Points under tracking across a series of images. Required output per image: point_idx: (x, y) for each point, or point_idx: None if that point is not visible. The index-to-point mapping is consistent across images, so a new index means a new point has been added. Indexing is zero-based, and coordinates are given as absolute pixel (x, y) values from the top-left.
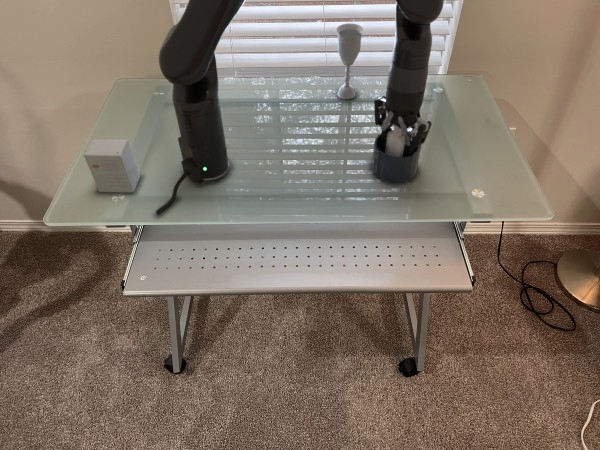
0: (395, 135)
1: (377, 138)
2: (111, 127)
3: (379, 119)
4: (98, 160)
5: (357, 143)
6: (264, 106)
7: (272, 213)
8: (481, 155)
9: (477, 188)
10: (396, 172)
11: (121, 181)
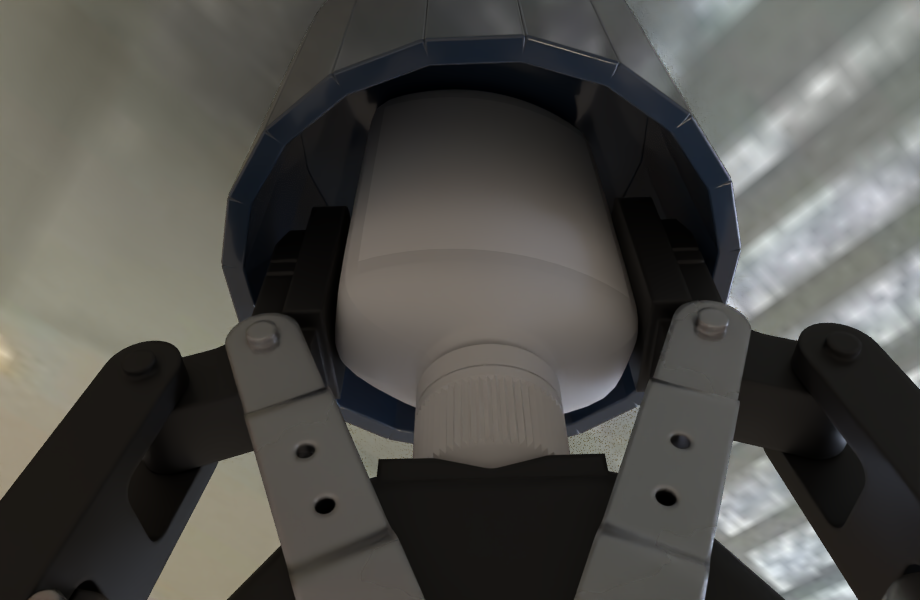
0: (485, 340)
1: (711, 201)
2: None
3: (833, 405)
4: None
5: (914, 132)
6: None
7: None
8: (250, 528)
9: (10, 368)
10: (304, 45)
11: None
